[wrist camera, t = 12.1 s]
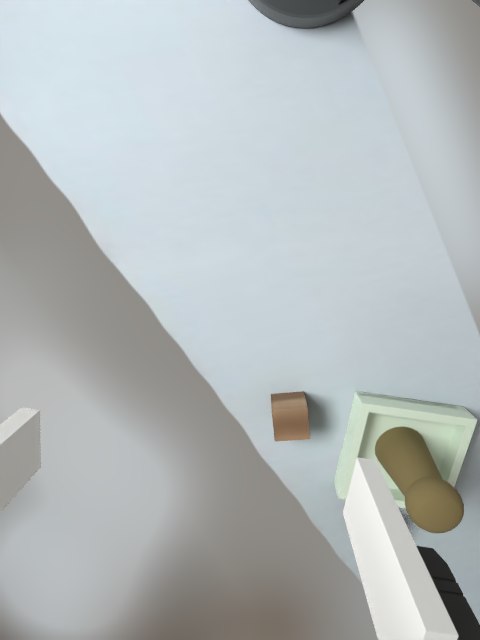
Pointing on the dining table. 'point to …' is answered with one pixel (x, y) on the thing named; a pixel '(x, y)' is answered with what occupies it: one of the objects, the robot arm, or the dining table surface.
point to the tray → (388, 412)
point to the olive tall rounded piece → (419, 480)
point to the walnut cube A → (290, 416)
